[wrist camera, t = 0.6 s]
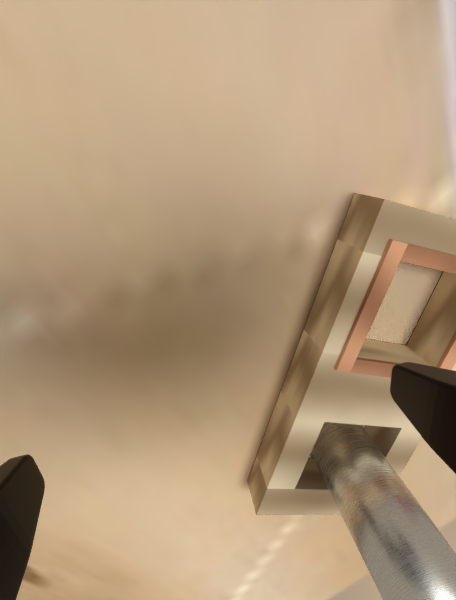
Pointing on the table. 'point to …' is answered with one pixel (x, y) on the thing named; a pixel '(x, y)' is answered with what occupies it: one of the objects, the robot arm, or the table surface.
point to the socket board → (356, 353)
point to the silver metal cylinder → (384, 517)
